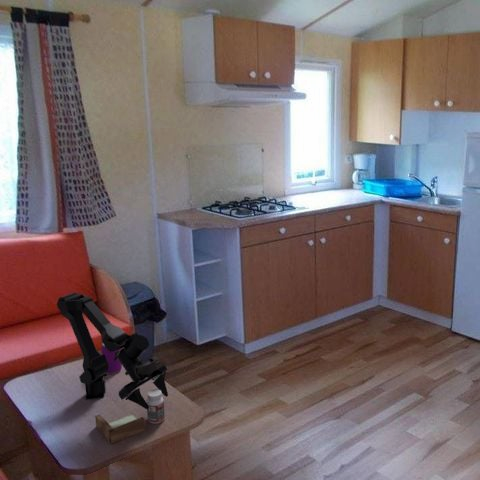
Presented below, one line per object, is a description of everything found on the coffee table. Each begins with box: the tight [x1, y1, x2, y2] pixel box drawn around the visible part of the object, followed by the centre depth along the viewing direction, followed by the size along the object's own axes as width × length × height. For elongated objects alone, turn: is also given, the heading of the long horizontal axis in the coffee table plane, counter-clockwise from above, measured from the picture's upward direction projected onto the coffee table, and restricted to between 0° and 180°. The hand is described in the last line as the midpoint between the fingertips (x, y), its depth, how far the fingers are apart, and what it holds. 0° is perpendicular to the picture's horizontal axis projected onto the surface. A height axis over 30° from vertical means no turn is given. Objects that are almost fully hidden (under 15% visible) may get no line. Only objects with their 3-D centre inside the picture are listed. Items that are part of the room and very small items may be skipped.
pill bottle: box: [146, 388, 166, 425], centre depth 176 cm, size 6×6×10 cm
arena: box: [94, 414, 146, 445], centre depth 172 cm, size 12×12×4 cm
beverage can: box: [100, 342, 123, 375], centre depth 210 cm, size 8×8×12 cm
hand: (157, 402), depth 175 cm, fingers open, 9 cm apart
